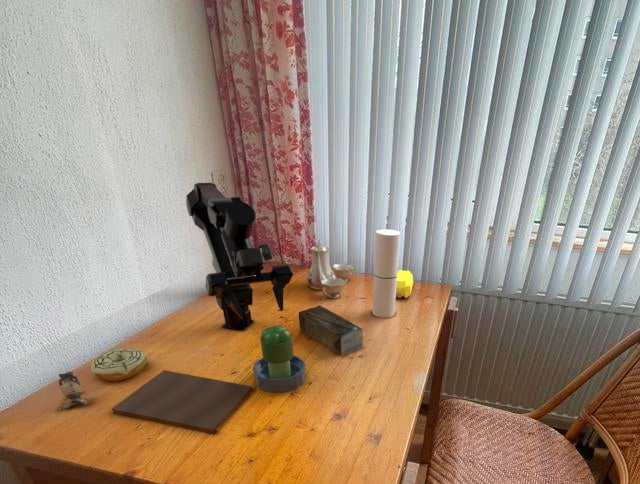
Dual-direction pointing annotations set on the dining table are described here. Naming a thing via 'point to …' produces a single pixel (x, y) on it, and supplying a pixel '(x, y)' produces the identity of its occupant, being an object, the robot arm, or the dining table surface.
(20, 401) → the dining table surface
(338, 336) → the beverage carton
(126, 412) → the board
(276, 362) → the broccoli
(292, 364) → the bowl
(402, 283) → the orange-capped yellow polyhedron
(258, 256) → the robot arm
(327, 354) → the dining table surface
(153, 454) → the dining table surface
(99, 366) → the decorated donut
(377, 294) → the cylindrical container
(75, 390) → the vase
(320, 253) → the chinaware
